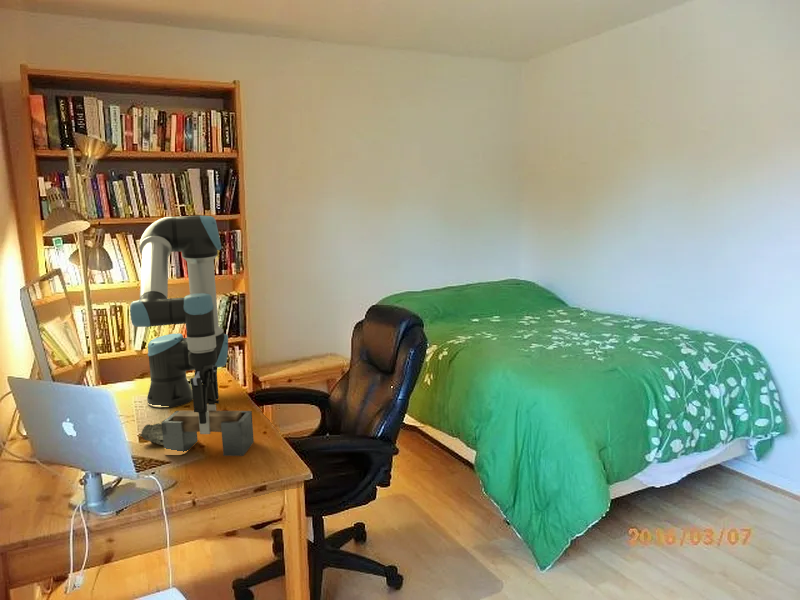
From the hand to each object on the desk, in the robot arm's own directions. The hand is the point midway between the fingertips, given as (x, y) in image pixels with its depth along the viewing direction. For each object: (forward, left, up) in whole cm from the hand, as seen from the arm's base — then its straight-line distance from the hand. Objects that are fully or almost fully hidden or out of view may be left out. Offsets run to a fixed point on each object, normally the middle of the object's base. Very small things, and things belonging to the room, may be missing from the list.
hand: (208, 429), depth 172 cm
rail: (0, 0, 0) cm, 0 cm away
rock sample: (-5, -16, -6) cm, 18 cm away
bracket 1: (0, -9, -6) cm, 10 cm away
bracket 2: (0, +8, -6) cm, 10 cm away
